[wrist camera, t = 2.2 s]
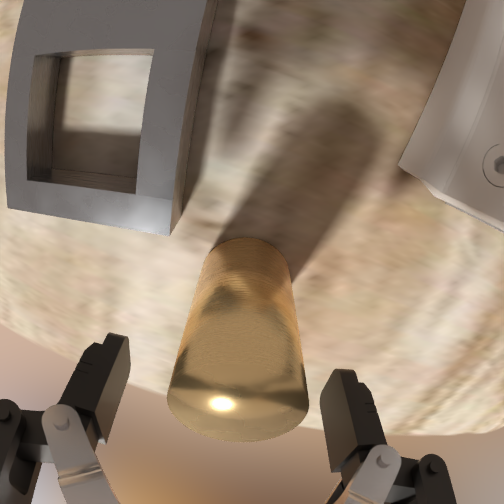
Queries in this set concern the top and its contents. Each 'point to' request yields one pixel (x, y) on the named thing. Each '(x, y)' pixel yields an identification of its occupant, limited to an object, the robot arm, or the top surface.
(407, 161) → the grey curved housing
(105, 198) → the grey flat block
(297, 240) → the top surface
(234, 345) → the cylinder
